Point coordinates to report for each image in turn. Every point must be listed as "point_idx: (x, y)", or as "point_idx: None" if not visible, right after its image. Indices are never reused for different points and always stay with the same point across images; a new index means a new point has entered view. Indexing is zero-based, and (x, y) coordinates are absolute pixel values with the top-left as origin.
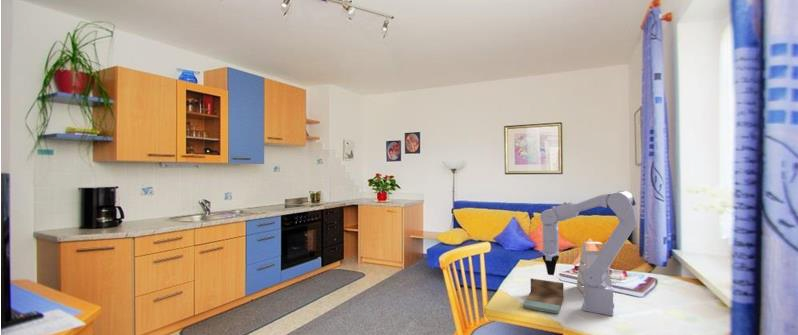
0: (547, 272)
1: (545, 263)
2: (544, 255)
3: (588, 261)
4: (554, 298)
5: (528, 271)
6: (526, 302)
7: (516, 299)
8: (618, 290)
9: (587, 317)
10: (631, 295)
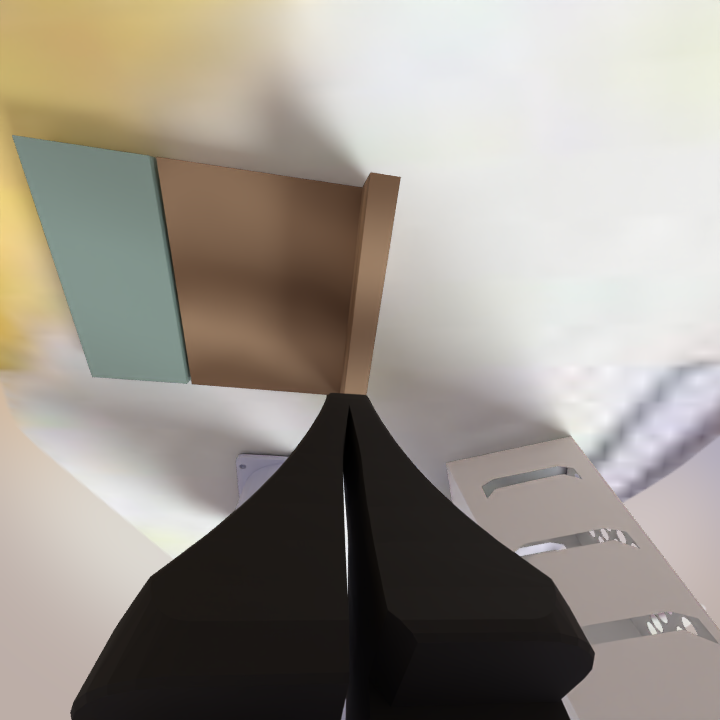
0: (324, 403)
1: (252, 497)
2: (515, 653)
3: (569, 704)
4: (284, 354)
5: None
6: (82, 165)
7: (213, 62)
8: (527, 548)
9: (176, 464)
10: None
